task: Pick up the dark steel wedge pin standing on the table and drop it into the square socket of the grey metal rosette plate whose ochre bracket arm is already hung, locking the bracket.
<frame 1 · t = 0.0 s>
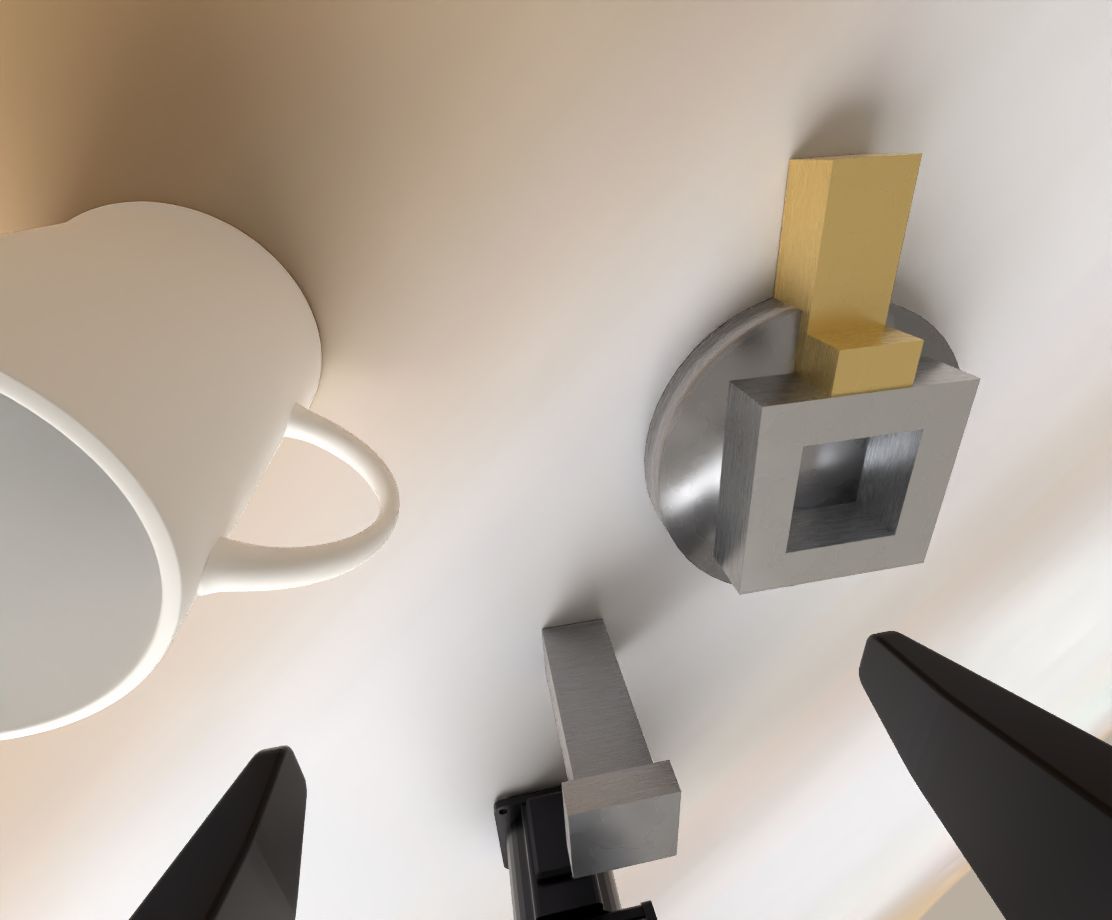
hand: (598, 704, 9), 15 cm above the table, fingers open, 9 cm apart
rosette: (788, 440, 25), on the table
mug: (239, 361, 20), on the table
wedge pin: (573, 646, 29), on the table
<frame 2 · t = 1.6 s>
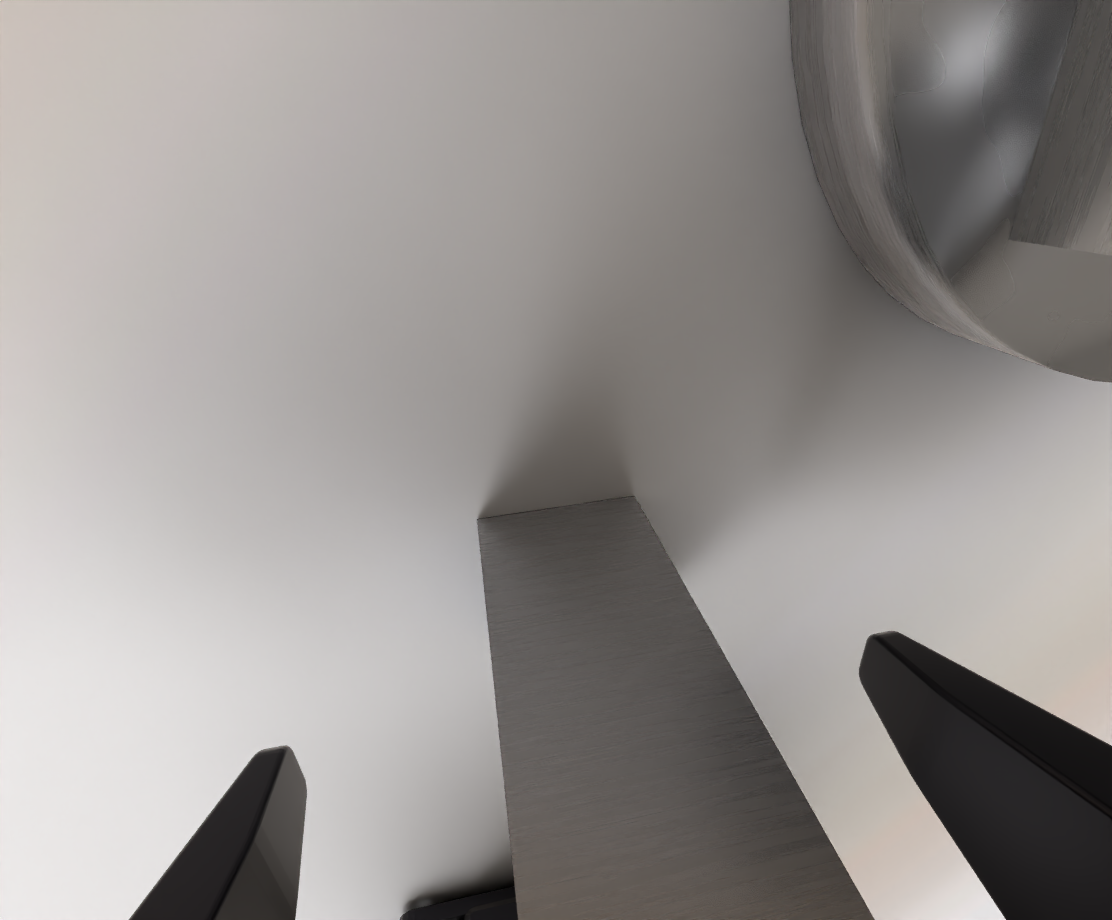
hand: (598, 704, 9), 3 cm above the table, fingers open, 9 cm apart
wedge pin: (561, 570, 12), on the table
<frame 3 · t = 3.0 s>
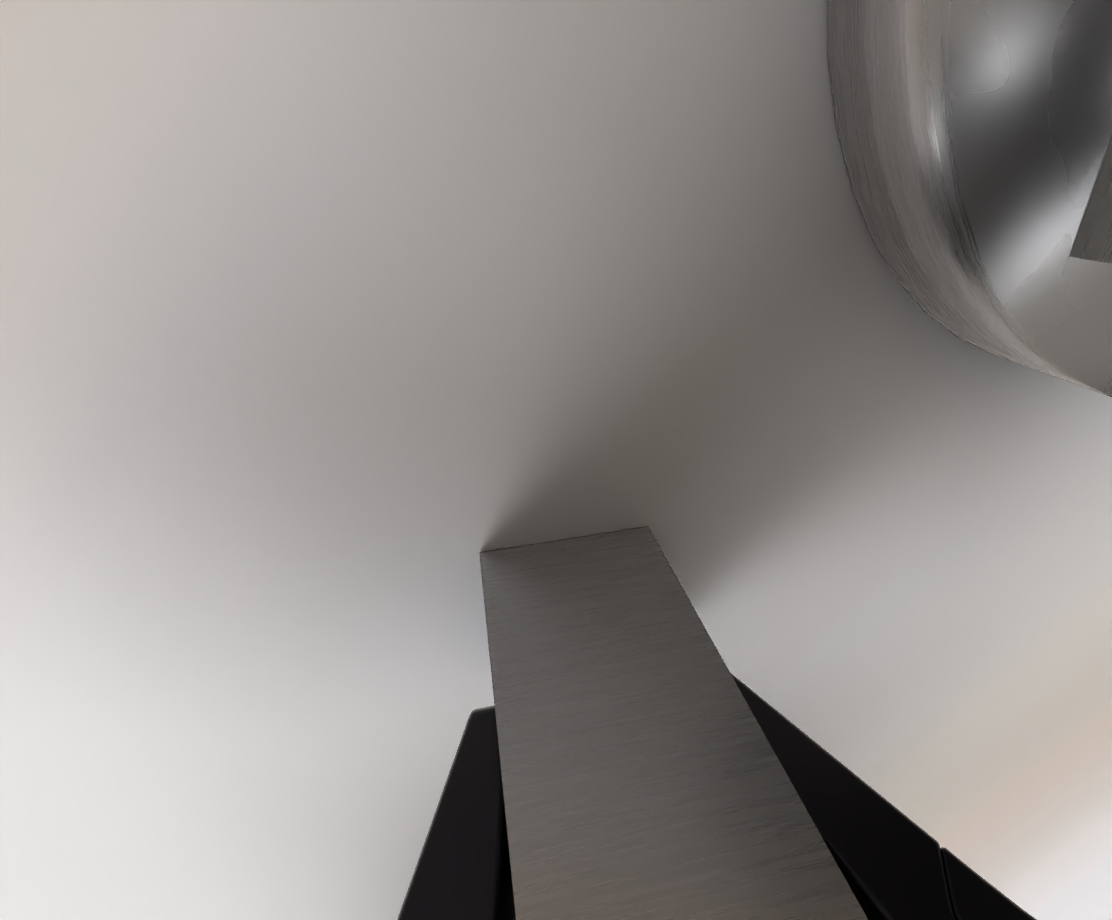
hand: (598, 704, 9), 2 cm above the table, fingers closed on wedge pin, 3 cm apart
wedge pin: (569, 604, 11), on the table, touching gripper
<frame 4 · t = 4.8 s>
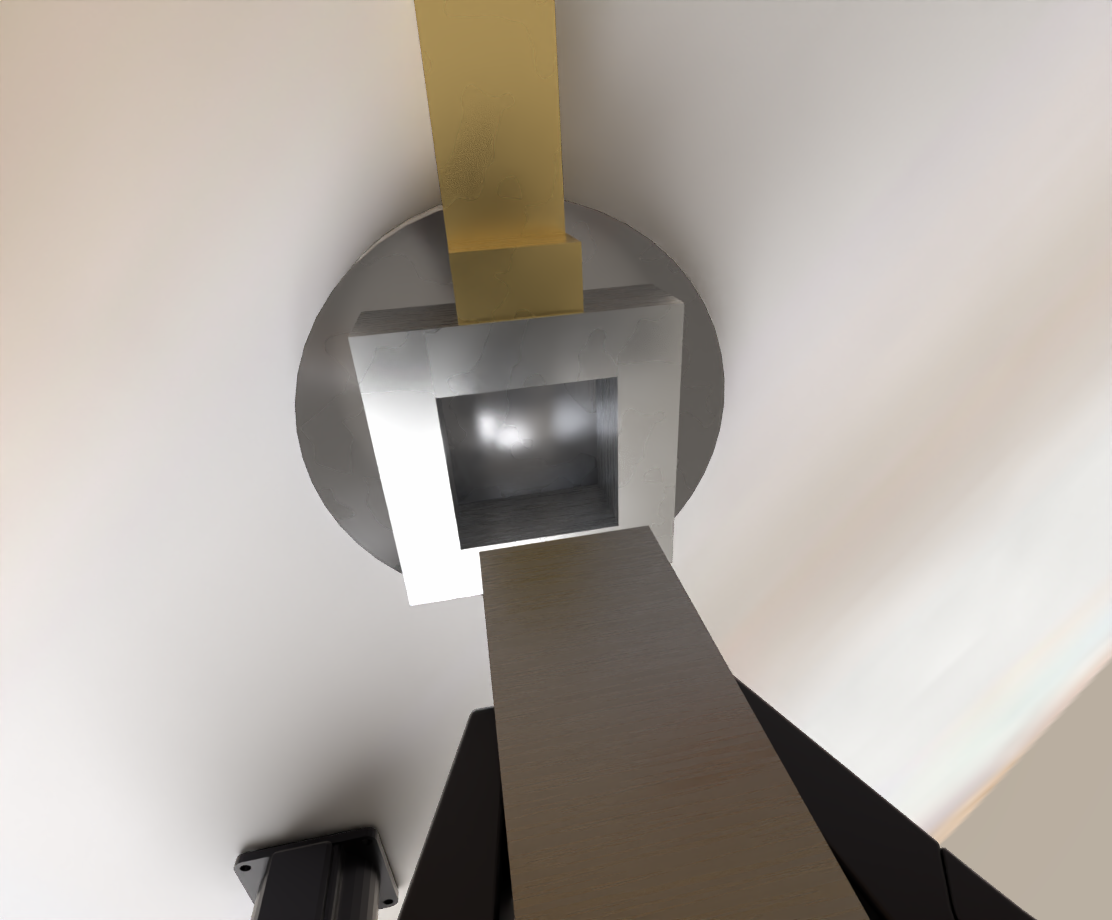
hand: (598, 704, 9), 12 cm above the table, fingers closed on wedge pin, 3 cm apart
rosette: (515, 405, 19), on the table
wedge pin: (569, 603, 11), point 10 cm above the table, touching gripper
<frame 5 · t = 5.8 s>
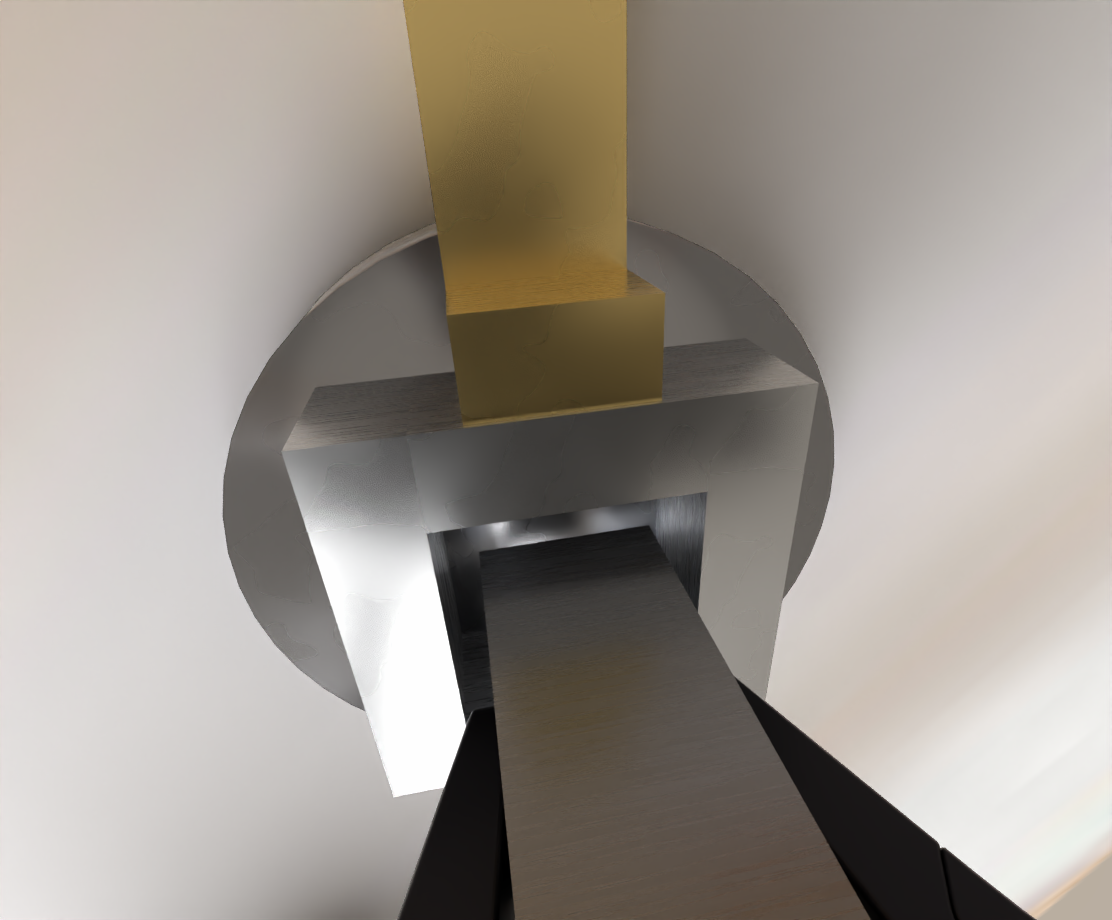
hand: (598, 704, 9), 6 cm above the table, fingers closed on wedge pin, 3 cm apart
rosette: (539, 490, 14), on the table
wedge pin: (569, 603, 11), point 4 cm above the table, touching gripper
when the fingers open (5 cm above the table, at t = 6.6 s): wedge pin drops 1 cm, resting on rosette.
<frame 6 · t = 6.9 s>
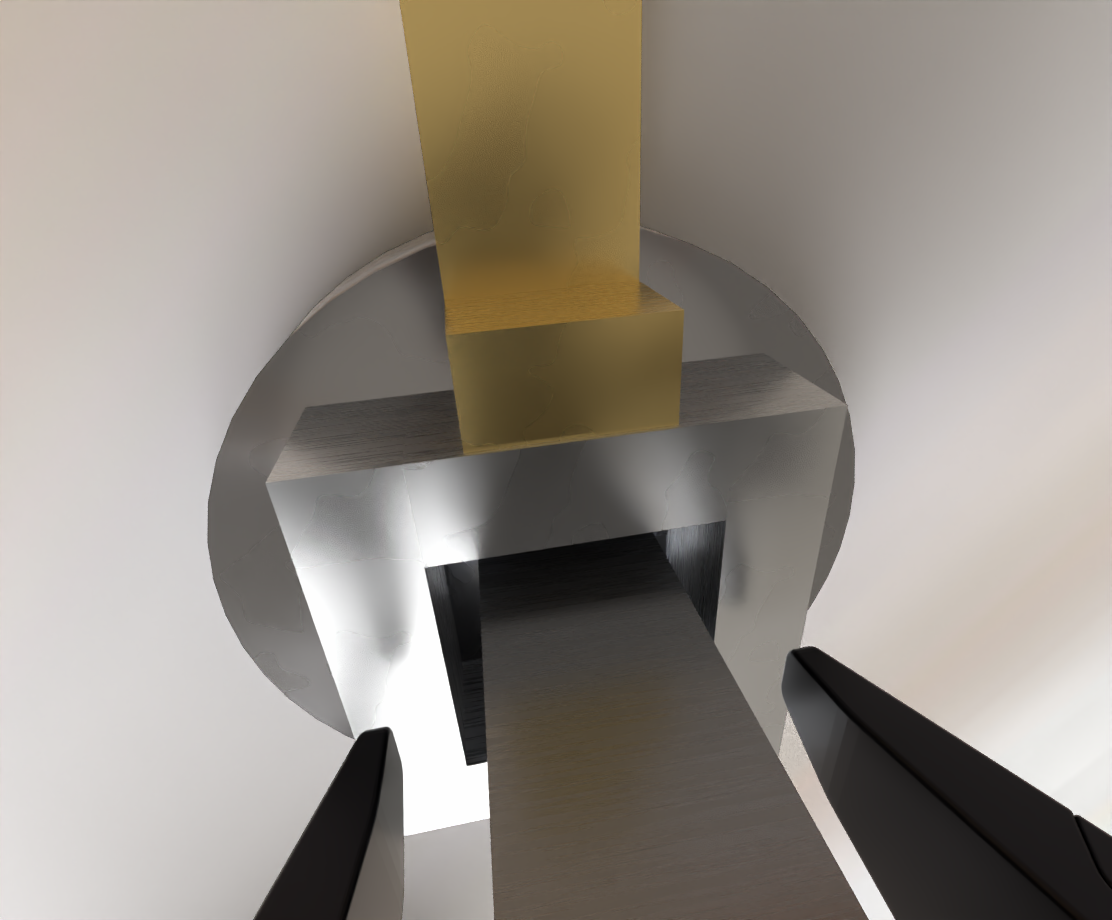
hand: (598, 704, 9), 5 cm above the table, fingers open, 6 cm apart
rosette: (543, 509, 14), on the table
wedge pin: (558, 564, 12), point 2 cm above the table, touching rosette
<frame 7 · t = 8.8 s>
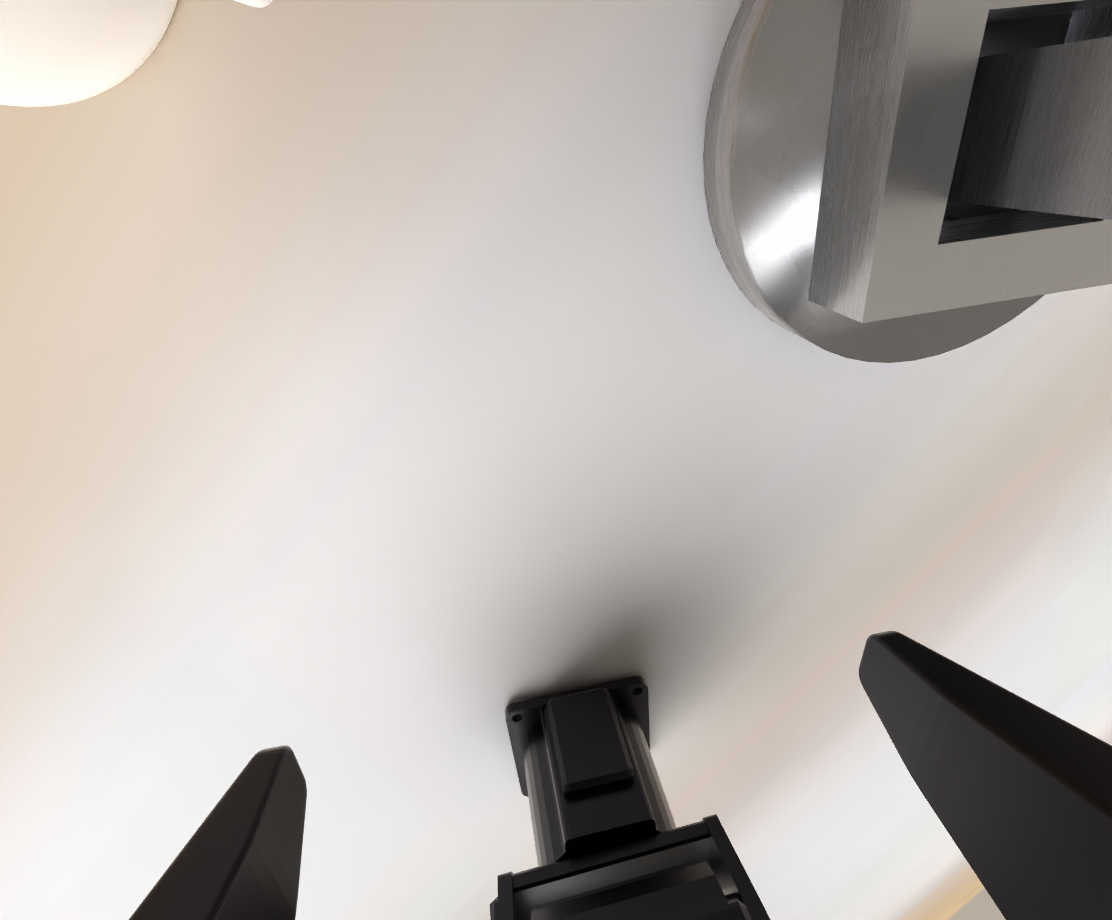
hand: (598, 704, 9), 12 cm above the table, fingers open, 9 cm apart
rosette: (912, 130, 17), on the table
wedge pin: (965, 127, 15), point 2 cm above the table, touching rosette
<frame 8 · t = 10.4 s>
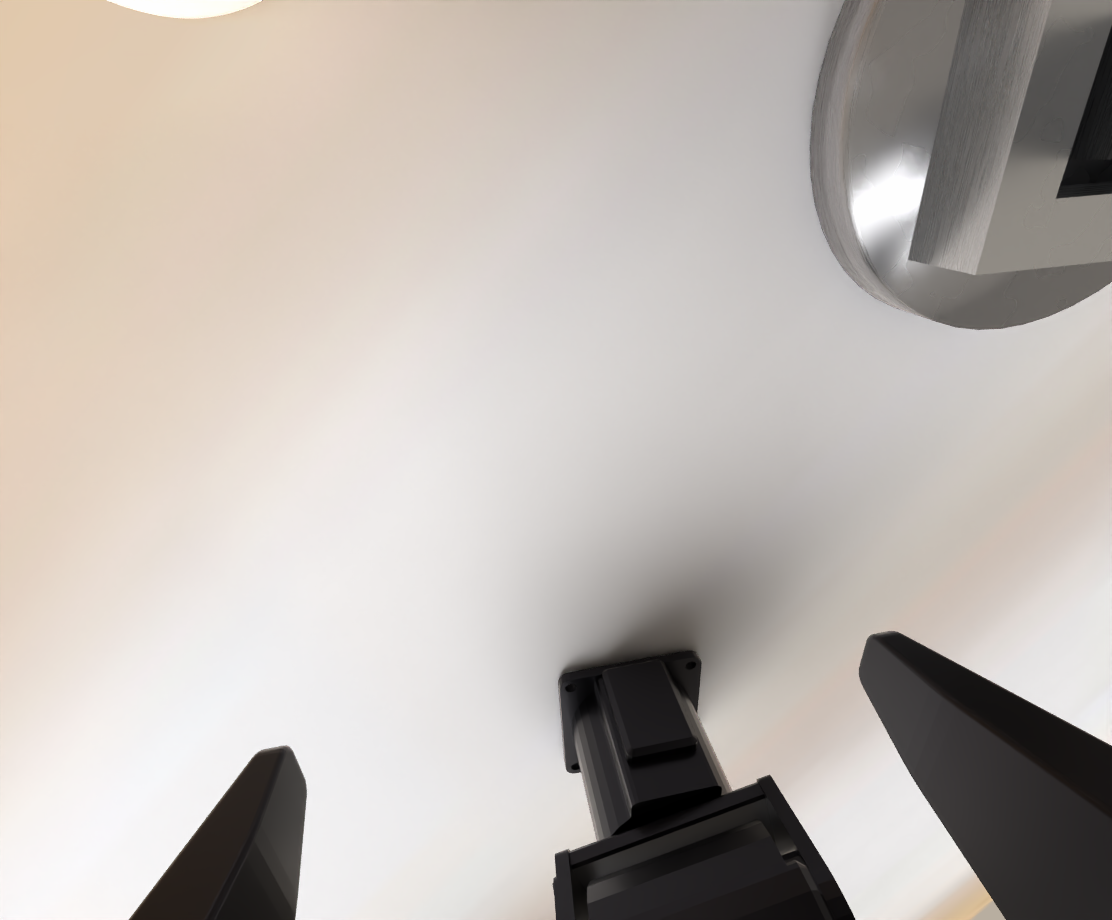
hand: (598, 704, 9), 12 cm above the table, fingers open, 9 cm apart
rosette: (1011, 100, 18), on the table
wedge pin: (1073, 93, 16), point 2 cm above the table, touching rosette
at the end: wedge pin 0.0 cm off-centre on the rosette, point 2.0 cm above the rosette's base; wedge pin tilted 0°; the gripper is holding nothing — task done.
